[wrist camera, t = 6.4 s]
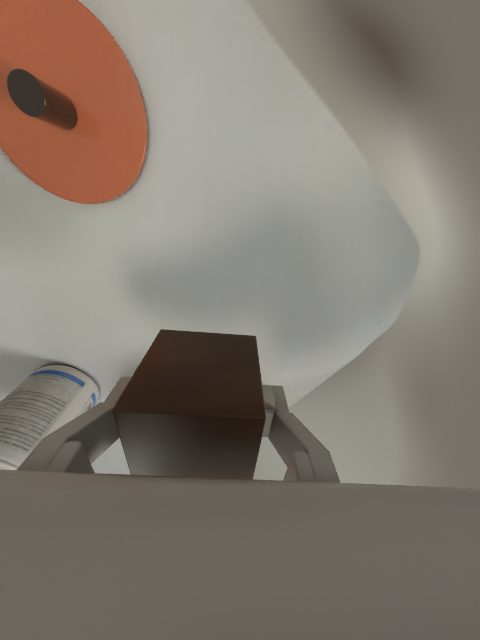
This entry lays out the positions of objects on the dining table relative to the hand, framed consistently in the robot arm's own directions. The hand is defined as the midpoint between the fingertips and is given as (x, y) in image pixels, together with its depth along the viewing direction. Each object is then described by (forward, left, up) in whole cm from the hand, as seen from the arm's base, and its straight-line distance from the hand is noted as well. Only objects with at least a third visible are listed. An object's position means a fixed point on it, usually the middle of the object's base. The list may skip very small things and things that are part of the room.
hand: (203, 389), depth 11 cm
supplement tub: (+23, +19, -17) cm, 35 cm away
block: (0, 0, -2) cm, 2 cm away
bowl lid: (+14, -14, -17) cm, 26 cm away
